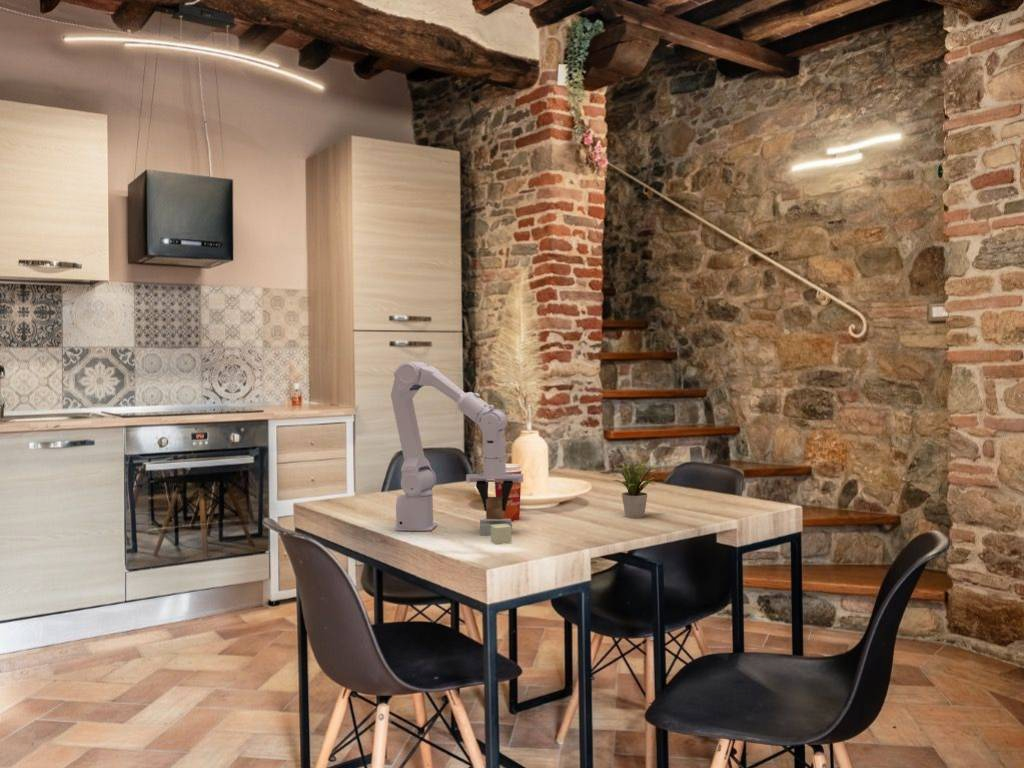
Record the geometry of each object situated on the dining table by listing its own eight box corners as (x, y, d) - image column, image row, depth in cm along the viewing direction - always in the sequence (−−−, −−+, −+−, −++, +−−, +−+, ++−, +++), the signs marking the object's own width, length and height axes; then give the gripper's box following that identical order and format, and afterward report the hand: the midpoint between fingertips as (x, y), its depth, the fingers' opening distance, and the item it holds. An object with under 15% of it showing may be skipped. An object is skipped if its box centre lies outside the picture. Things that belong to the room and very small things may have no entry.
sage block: (495, 544, 197) (495, 528, 197) (490, 541, 201) (490, 525, 201) (511, 543, 198) (511, 526, 198) (506, 539, 202) (506, 523, 202)
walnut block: (486, 519, 209) (485, 499, 209) (488, 516, 213) (488, 496, 213) (501, 519, 208) (501, 499, 208) (504, 516, 212) (503, 496, 212)
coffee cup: (498, 523, 223) (497, 467, 222) (490, 517, 230) (489, 464, 230) (527, 520, 225) (526, 466, 224) (519, 515, 233) (517, 462, 232)
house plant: (660, 522, 218) (659, 461, 218) (608, 521, 222) (607, 461, 221) (663, 512, 232) (662, 455, 232) (614, 511, 235) (613, 454, 235)
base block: (480, 537, 207) (479, 525, 207) (480, 530, 215) (480, 519, 215) (512, 536, 207) (511, 524, 207) (511, 530, 215) (510, 518, 215)
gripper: (463, 459, 207) (464, 513, 208) (520, 459, 205) (521, 513, 206) (468, 456, 214) (469, 508, 215) (523, 455, 212) (524, 508, 213)
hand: (495, 510), depth 211 cm, fingers closed on walnut block, 4 cm apart
